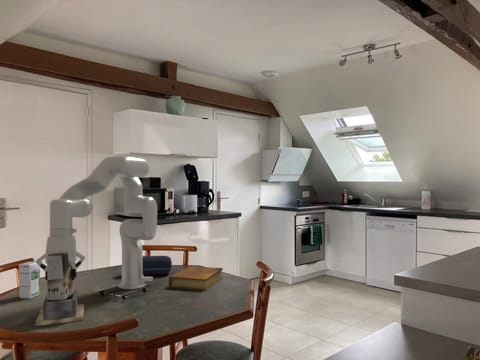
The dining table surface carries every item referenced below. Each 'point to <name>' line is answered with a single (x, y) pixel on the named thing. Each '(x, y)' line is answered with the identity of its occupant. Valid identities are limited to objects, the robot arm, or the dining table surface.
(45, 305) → the frame
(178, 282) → the diary
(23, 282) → the syrup box
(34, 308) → the dining table surface
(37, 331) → the dining table surface
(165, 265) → the portable speaker
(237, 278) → the dining table surface
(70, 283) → the coffee box
